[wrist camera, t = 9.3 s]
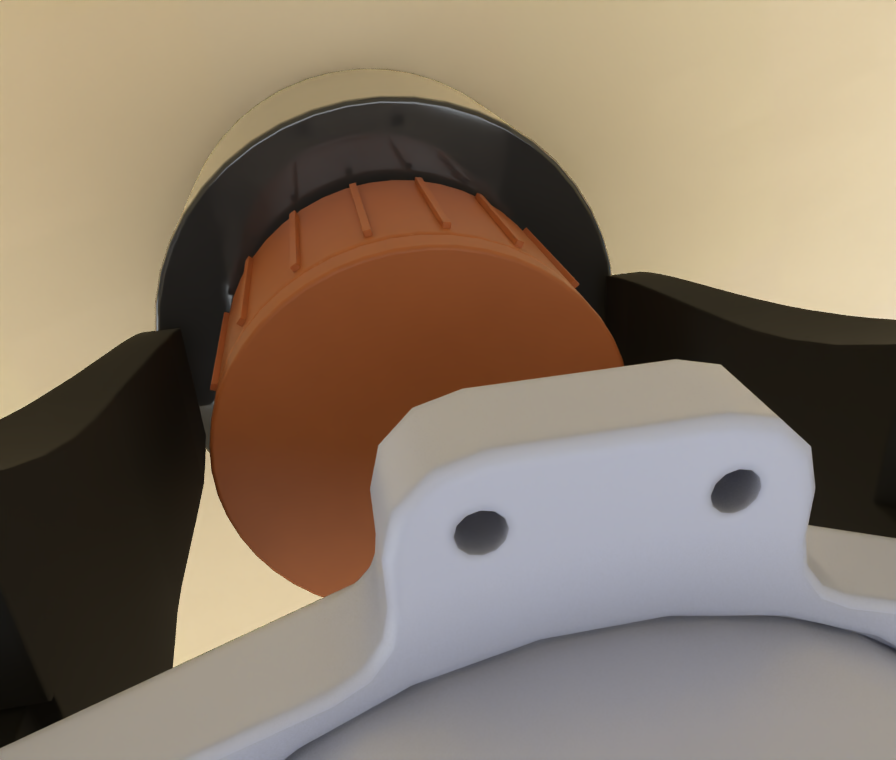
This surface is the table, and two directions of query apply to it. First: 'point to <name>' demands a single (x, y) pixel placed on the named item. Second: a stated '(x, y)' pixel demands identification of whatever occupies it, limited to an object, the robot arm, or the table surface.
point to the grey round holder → (357, 161)
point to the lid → (373, 356)
